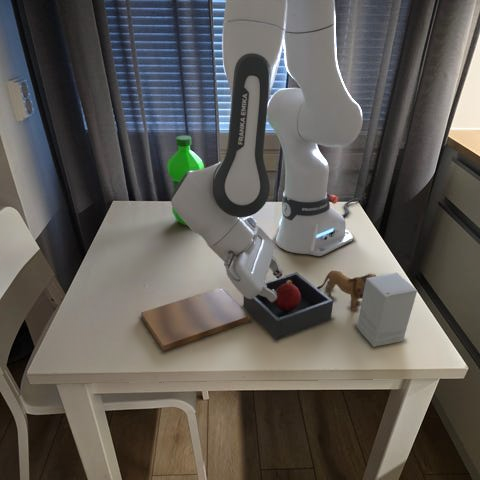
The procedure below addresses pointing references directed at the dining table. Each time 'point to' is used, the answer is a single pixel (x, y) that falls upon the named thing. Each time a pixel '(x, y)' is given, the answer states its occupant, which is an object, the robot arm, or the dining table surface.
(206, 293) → the cutting board
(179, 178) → the plastic bottle
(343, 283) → the lion figurine
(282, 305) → the red pomegranate
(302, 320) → the tub
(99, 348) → the dining table surface
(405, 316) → the white packaging box
